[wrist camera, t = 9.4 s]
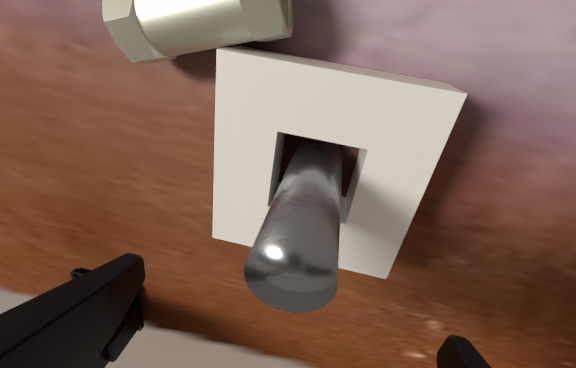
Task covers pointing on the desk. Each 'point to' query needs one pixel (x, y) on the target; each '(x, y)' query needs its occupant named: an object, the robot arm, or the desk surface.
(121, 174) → the desk surface
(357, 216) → the hole block
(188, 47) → the pipe fitting
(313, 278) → the metal peg
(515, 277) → the desk surface
